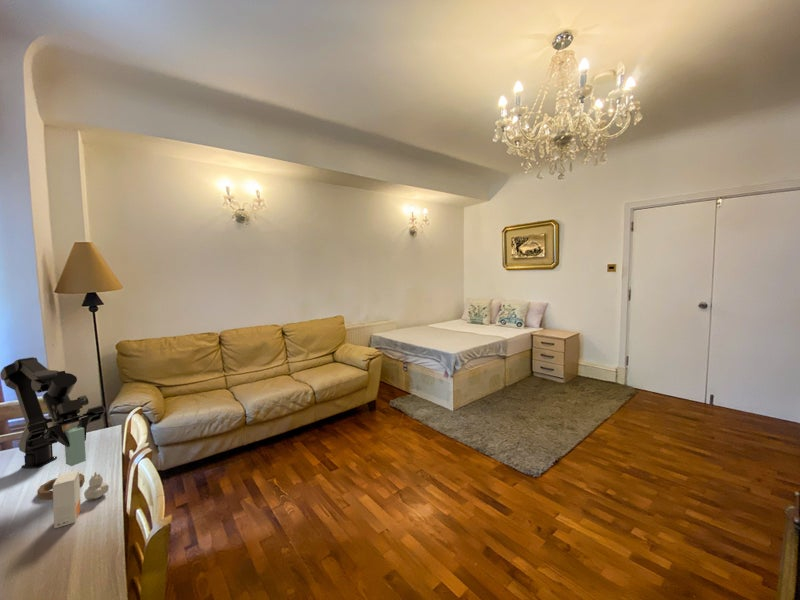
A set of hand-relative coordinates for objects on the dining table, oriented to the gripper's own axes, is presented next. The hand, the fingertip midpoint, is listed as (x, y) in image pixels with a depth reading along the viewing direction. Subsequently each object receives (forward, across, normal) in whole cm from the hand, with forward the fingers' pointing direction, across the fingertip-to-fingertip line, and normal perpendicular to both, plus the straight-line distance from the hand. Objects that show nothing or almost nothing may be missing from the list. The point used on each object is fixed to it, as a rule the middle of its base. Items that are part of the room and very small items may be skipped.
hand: (76, 443), depth 106 cm
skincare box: (+23, -9, -3) cm, 25 cm away
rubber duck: (+20, -1, 0) cm, 20 cm away
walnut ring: (+9, -4, +11) cm, 14 cm away
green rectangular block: (+4, 0, +6) cm, 7 cm away
